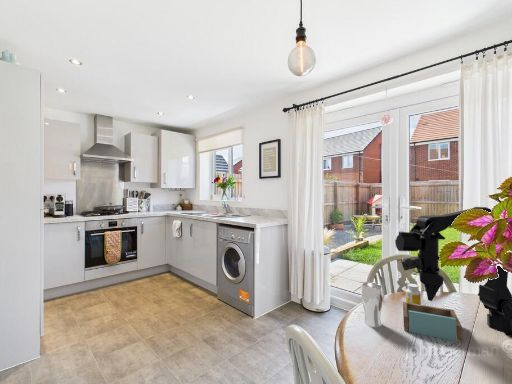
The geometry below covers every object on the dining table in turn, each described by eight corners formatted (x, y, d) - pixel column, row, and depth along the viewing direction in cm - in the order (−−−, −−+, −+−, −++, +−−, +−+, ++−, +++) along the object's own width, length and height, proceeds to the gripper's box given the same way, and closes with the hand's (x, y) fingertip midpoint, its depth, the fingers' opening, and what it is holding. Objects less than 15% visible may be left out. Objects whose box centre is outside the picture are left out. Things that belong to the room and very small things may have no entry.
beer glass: (385, 331, 90) (384, 289, 90) (364, 330, 91) (363, 288, 91) (380, 322, 96) (379, 282, 97) (361, 320, 98) (359, 281, 98)
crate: (454, 326, 92) (453, 309, 92) (462, 345, 81) (462, 326, 81) (403, 317, 100) (402, 301, 100) (404, 333, 88) (403, 316, 88)
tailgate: (455, 339, 82) (455, 318, 82) (456, 341, 81) (455, 319, 81) (409, 330, 88) (408, 310, 89) (409, 331, 88) (408, 311, 88)
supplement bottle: (404, 307, 108) (403, 285, 109) (409, 304, 112) (408, 282, 112) (418, 311, 104) (417, 288, 104) (422, 308, 108) (422, 285, 108)
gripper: (401, 244, 102) (401, 284, 102) (402, 253, 86) (402, 300, 85) (435, 248, 96) (435, 289, 96) (443, 258, 80) (443, 308, 80)
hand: (428, 295), depth 89 cm, fingers open, 9 cm apart
